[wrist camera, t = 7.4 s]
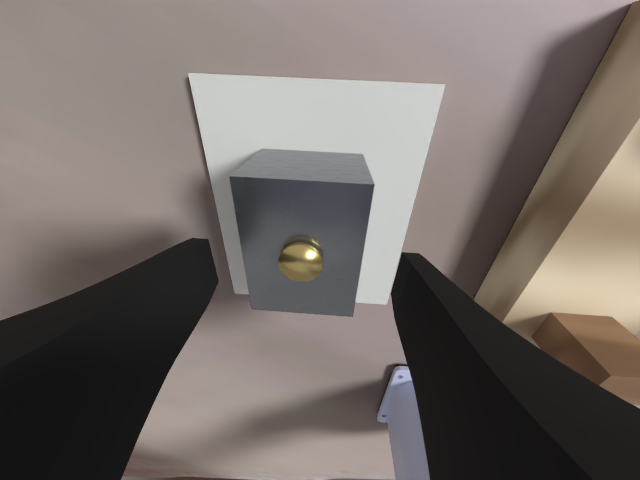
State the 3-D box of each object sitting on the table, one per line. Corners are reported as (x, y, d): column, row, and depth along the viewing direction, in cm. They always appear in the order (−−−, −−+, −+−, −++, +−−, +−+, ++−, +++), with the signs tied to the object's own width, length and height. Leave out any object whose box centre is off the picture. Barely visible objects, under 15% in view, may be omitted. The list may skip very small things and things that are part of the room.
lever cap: (349, 261, 14) (353, 324, 10) (271, 256, 14) (248, 316, 10) (362, 153, 11) (376, 189, 7) (262, 148, 11) (224, 180, 7)
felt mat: (385, 299, 16) (386, 304, 16) (236, 289, 16) (234, 293, 16) (441, 84, 10) (445, 84, 9) (193, 73, 10) (188, 73, 9)
